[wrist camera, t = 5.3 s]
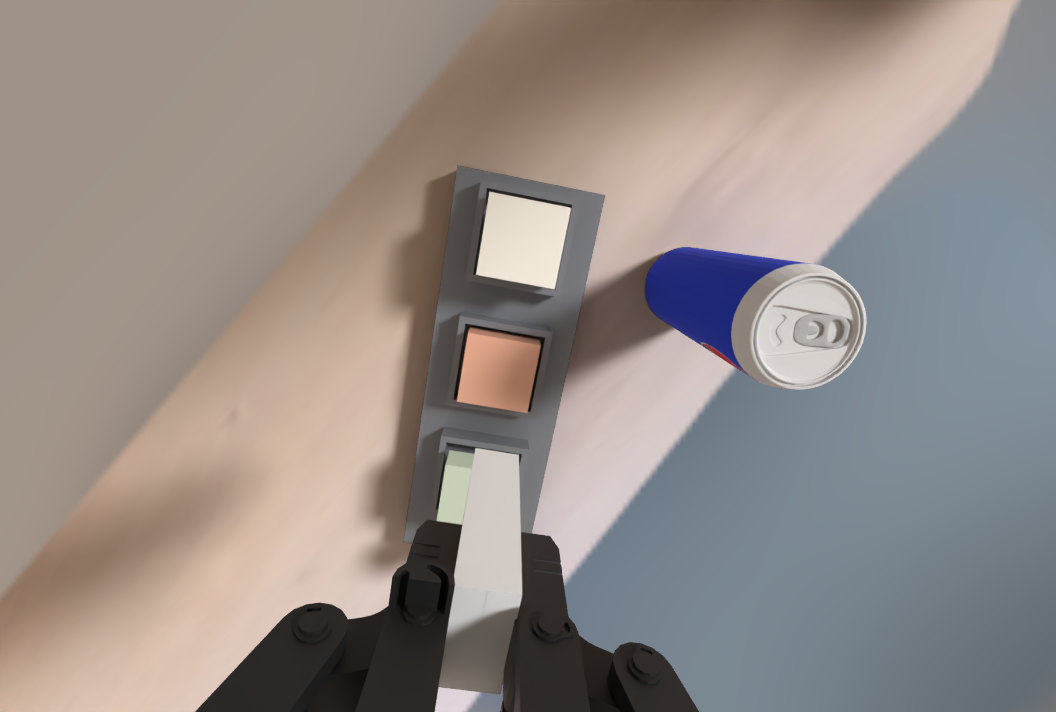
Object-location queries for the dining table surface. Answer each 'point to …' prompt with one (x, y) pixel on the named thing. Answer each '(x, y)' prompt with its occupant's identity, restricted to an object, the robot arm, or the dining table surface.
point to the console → (505, 311)
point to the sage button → (455, 487)
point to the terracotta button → (498, 369)
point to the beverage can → (761, 313)
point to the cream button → (522, 240)
